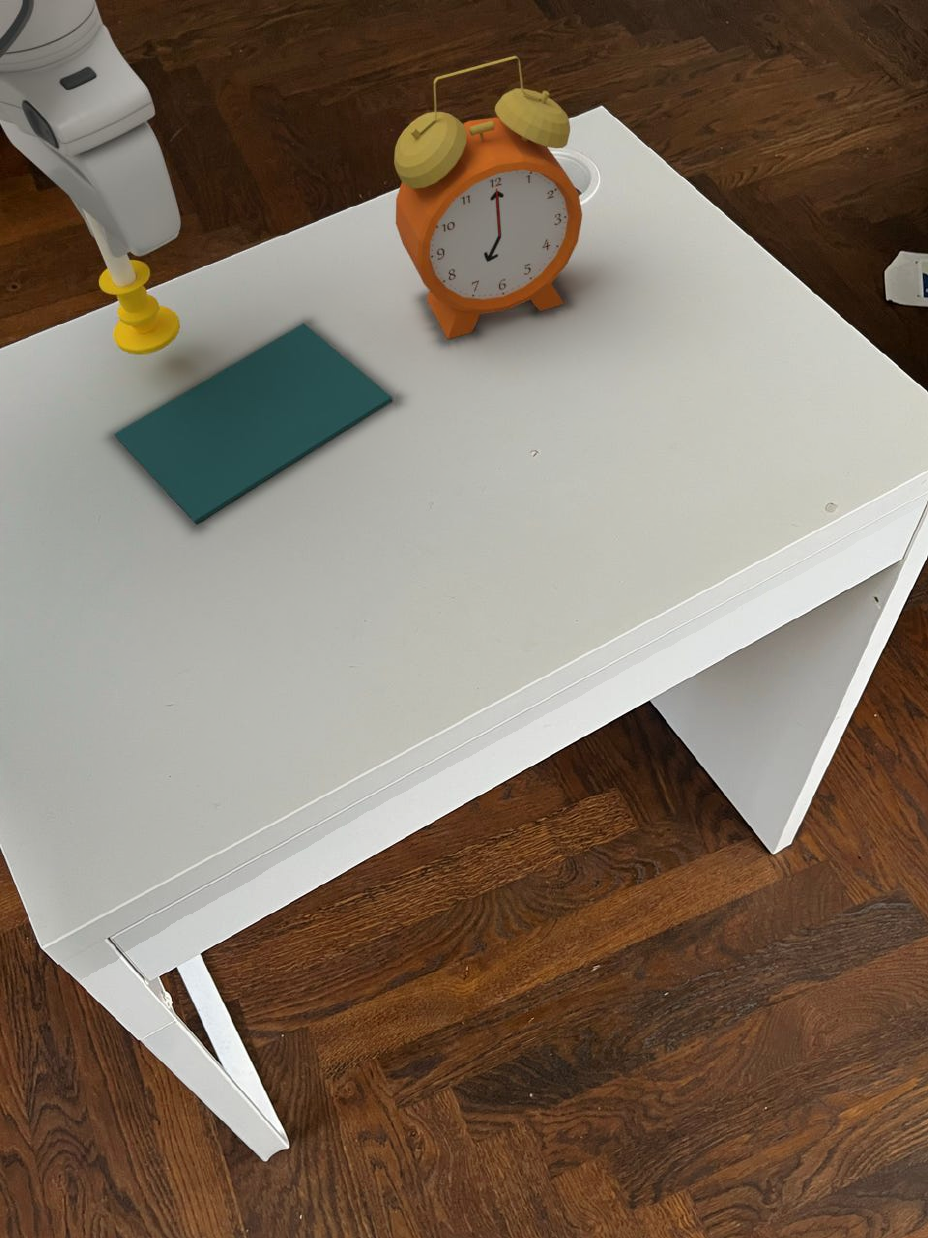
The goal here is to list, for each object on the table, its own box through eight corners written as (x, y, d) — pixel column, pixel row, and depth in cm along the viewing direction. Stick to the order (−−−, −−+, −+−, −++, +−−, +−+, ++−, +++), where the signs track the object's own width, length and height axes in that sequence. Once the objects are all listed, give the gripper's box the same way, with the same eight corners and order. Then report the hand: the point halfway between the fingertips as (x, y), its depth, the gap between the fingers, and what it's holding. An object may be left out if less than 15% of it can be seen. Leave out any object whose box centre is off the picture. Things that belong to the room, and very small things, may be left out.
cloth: (195, 524, 83) (194, 520, 83) (115, 437, 89) (113, 433, 89) (392, 400, 89) (391, 396, 88) (304, 326, 95) (303, 322, 94)
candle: (101, 339, 90) (18, 162, 77) (149, 301, 92) (76, 123, 80) (145, 364, 88) (67, 186, 75) (194, 324, 90) (125, 145, 77)
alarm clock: (431, 349, 92) (398, 117, 75) (407, 303, 95) (371, 71, 79) (585, 302, 93) (585, 65, 77) (556, 258, 97) (551, 22, 80)
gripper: (-70, 23, 77) (13, 202, 88) (71, 145, 67) (145, 330, 78) (14, -13, 79) (85, 167, 90) (164, 101, 69) (222, 287, 80)
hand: (114, 244), depth 84 cm, fingers closed on candle
